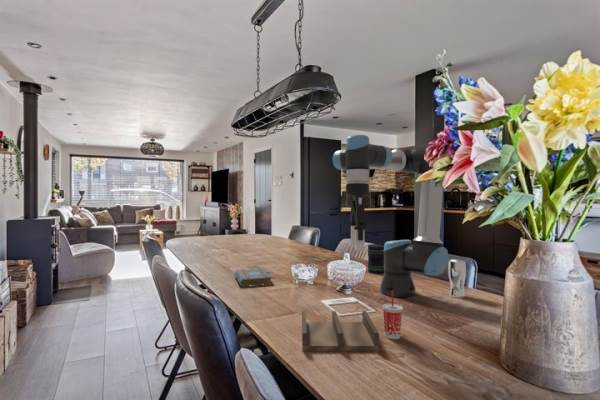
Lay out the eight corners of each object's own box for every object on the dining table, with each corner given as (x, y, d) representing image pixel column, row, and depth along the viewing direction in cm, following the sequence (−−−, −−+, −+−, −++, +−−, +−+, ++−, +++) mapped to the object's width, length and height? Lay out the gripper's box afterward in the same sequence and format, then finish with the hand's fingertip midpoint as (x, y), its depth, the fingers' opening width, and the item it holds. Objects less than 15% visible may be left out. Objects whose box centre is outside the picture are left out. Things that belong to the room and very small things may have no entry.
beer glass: (461, 299, 141) (461, 262, 141) (445, 295, 147) (445, 260, 146) (468, 295, 146) (469, 260, 146) (452, 292, 151) (453, 258, 151)
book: (234, 278, 181) (234, 268, 181) (265, 275, 186) (265, 266, 186) (239, 288, 161) (239, 277, 161) (274, 285, 166) (274, 275, 166)
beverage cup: (407, 337, 103) (407, 291, 103) (392, 342, 100) (392, 294, 100) (392, 330, 108) (392, 286, 108) (377, 334, 105) (377, 289, 105)
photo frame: (353, 296, 143) (375, 310, 126) (353, 299, 143) (375, 313, 126) (320, 300, 138) (339, 314, 121) (320, 302, 138) (339, 317, 121)
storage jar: (375, 269, 199) (375, 243, 199) (389, 272, 192) (389, 245, 191) (364, 271, 193) (363, 245, 193) (378, 274, 185) (378, 247, 185)
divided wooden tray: (366, 326, 112) (366, 311, 112) (378, 351, 94) (378, 333, 94) (302, 326, 112) (301, 311, 112) (302, 351, 94) (302, 333, 94)
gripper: (342, 184, 125) (342, 242, 125) (349, 181, 100) (349, 253, 100) (363, 184, 125) (363, 242, 125) (375, 181, 100) (375, 253, 100)
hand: (357, 247), depth 113 cm, fingers open, 13 cm apart
